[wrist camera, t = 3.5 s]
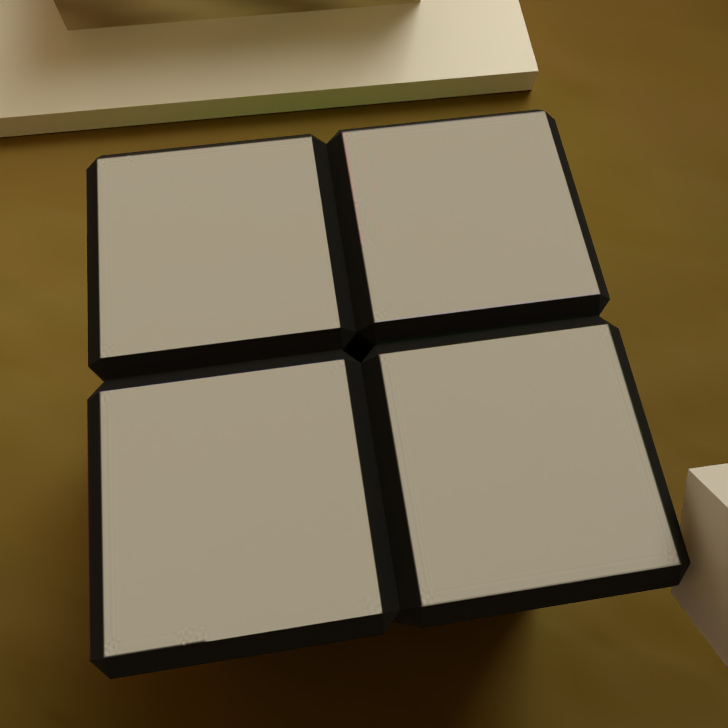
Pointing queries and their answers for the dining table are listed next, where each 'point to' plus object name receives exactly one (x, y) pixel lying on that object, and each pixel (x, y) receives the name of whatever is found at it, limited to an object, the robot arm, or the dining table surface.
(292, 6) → the base block
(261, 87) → the build plate
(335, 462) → the puzzle cube
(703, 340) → the dining table surface
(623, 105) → the dining table surface
